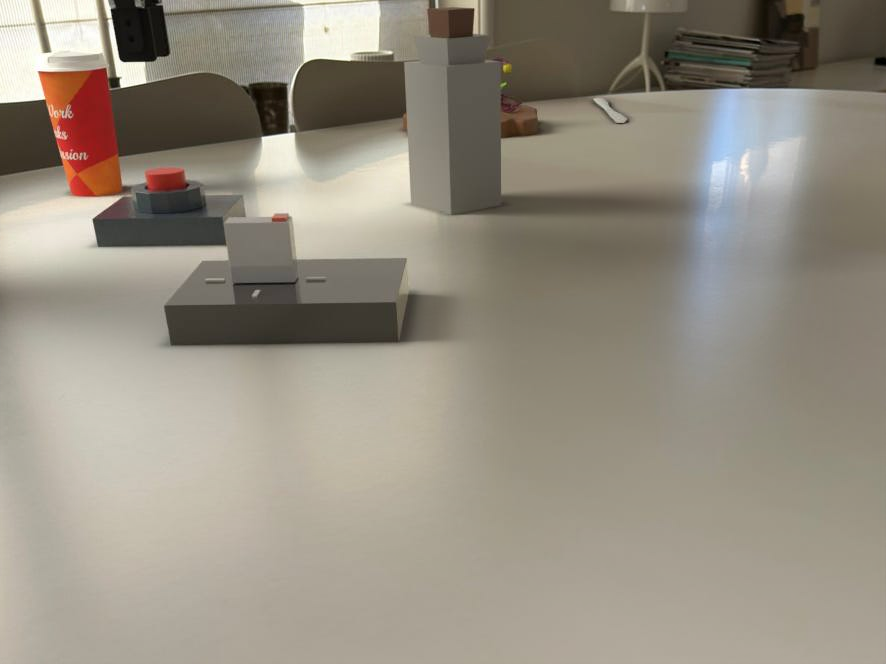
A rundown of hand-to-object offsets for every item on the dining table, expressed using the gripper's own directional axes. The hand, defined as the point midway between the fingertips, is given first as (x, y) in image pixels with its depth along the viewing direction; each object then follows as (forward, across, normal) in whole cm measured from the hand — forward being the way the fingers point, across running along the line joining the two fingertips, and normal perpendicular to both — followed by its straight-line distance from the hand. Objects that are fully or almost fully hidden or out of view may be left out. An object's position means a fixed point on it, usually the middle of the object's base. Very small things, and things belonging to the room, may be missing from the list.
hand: (145, 56), depth 94 cm
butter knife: (+15, -79, +50) cm, 95 cm away
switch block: (+15, 0, 0) cm, 15 cm away
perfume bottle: (+15, -11, +27) cm, 33 cm away
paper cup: (+15, -21, -14) cm, 30 cm away
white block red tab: (+12, +28, +14) cm, 34 cm away
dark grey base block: (+15, +28, +16) cm, 36 cm away
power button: (+11, 0, 0) cm, 11 cm away
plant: (+15, -64, +28) cm, 72 cm away
